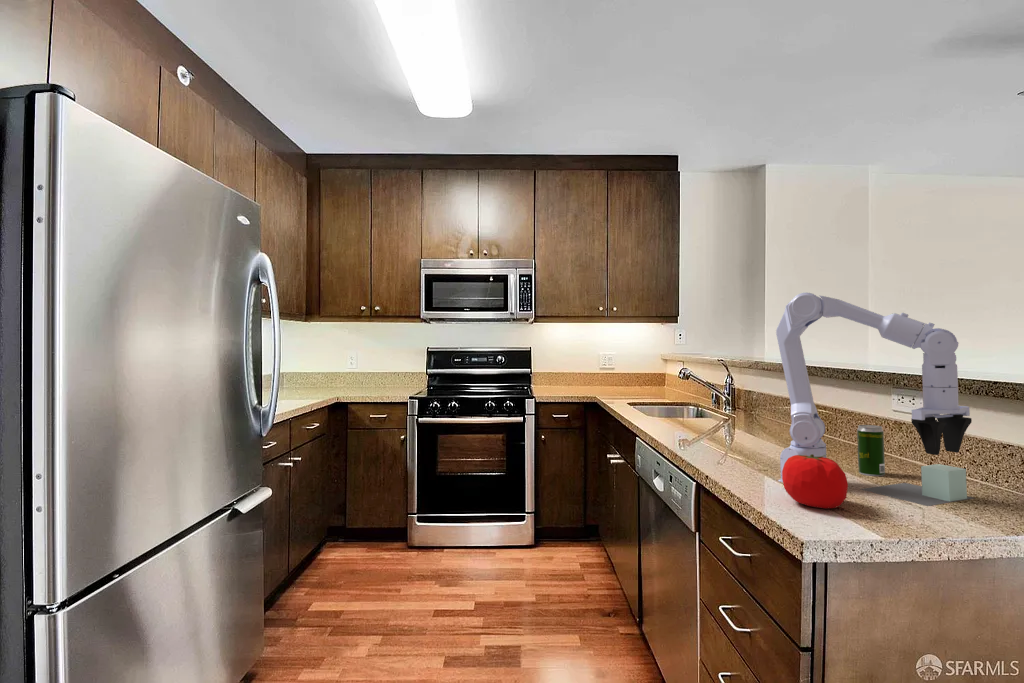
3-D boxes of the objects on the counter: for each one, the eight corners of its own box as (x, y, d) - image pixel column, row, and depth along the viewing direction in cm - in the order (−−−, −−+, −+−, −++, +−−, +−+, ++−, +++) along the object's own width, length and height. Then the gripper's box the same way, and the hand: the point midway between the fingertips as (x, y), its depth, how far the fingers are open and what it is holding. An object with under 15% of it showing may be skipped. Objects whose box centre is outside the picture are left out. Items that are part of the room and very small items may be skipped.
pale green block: (949, 501, 107) (948, 471, 107) (922, 495, 112) (921, 466, 112) (967, 498, 108) (965, 468, 109) (939, 492, 113) (938, 464, 113)
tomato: (825, 517, 100) (823, 462, 100) (768, 501, 111) (767, 451, 112) (865, 509, 104) (863, 456, 104) (806, 494, 116) (804, 446, 116)
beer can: (888, 475, 131) (886, 426, 131) (880, 479, 127) (879, 428, 127) (863, 471, 135) (861, 424, 135) (855, 475, 131) (853, 426, 132)
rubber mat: (927, 508, 104) (927, 506, 104) (860, 490, 117) (860, 489, 117) (975, 500, 109) (975, 498, 109) (904, 484, 122) (904, 482, 122)
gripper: (936, 389, 104) (939, 459, 104) (985, 386, 109) (988, 453, 109) (900, 387, 111) (902, 453, 111) (947, 384, 116) (949, 447, 116)
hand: (942, 452), depth 110 cm, fingers open, 5 cm apart
